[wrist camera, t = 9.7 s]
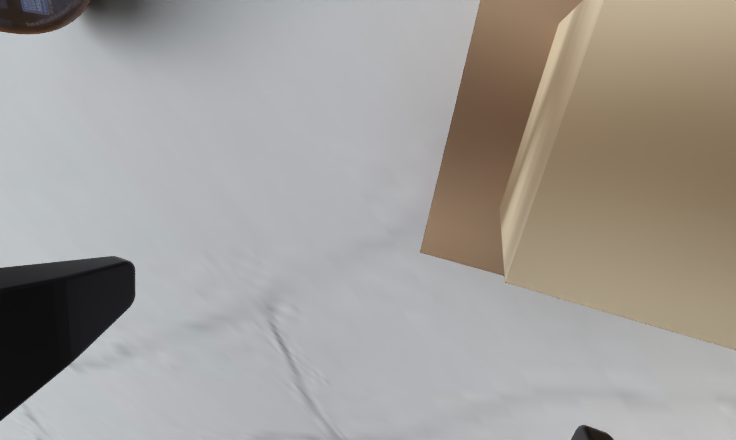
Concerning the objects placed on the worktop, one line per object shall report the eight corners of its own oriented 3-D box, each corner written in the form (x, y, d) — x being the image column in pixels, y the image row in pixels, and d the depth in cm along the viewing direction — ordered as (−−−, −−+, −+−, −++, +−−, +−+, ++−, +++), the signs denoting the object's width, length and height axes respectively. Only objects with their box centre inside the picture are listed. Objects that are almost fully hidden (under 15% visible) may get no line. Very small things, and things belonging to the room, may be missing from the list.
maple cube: (686, 256, 11) (828, 377, 6) (499, 208, 12) (504, 282, 7) (787, 60, 9) (1089, 30, 5) (559, 23, 10) (615, -32, 6)
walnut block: (664, 266, 16) (735, 339, 11) (438, 209, 18) (420, 252, 13) (787, 12, 13) (957, -31, 8) (495, -24, 14) (498, -77, 10)
